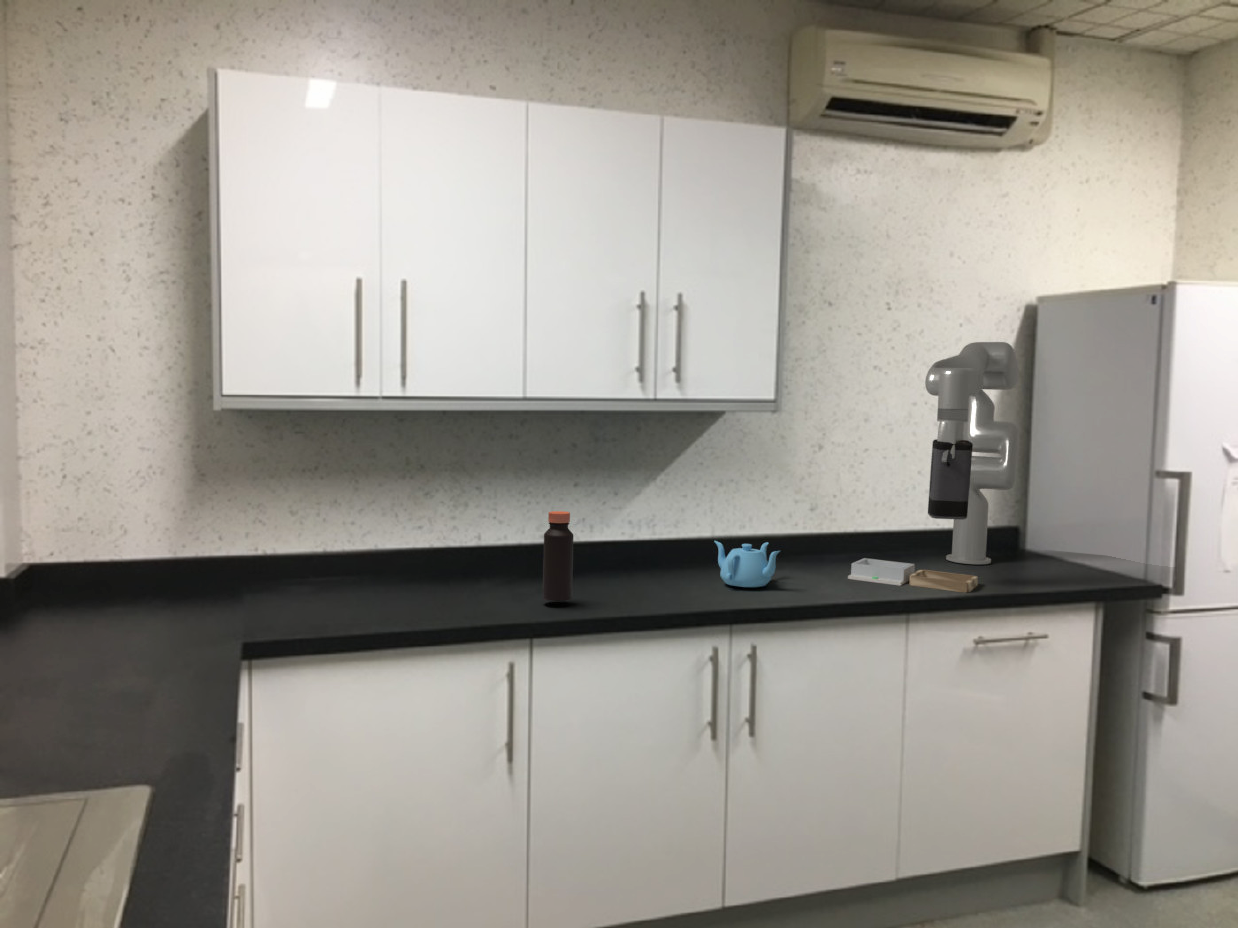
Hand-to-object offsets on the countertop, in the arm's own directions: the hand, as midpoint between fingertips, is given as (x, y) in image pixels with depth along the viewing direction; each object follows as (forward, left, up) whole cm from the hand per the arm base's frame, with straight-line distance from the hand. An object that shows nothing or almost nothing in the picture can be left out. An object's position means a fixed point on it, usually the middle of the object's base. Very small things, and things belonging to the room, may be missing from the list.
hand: (949, 485), depth 241 cm
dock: (+1, -16, -26) cm, 31 cm away
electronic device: (+1, 0, -8) cm, 8 cm away
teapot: (+31, -42, -27) cm, 59 cm away
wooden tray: (+1, 0, -26) cm, 26 cm away
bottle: (+78, -69, -27) cm, 107 cm away
